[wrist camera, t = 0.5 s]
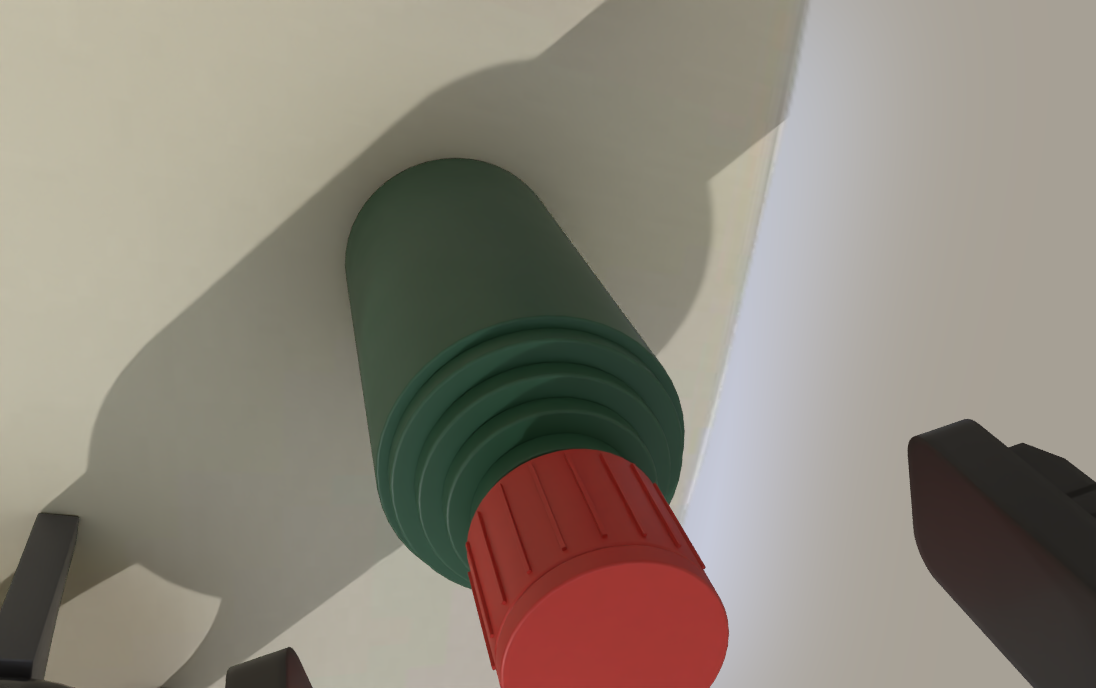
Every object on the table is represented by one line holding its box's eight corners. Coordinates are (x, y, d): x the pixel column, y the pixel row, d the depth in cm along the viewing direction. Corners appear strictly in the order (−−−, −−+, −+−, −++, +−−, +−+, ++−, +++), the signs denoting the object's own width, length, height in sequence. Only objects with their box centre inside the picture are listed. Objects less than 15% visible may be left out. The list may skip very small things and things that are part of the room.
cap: (440, 483, 20) (471, 607, 17) (647, 419, 20) (717, 528, 17) (489, 642, 22) (526, 780, 18) (678, 580, 22) (746, 705, 19)
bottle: (317, 191, 33) (350, 540, 16) (532, 132, 34) (777, 407, 17) (379, 382, 36) (461, 836, 20) (574, 325, 37) (813, 713, 20)
